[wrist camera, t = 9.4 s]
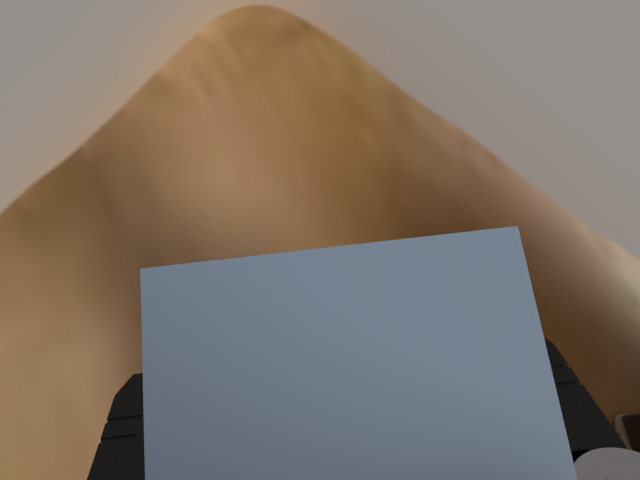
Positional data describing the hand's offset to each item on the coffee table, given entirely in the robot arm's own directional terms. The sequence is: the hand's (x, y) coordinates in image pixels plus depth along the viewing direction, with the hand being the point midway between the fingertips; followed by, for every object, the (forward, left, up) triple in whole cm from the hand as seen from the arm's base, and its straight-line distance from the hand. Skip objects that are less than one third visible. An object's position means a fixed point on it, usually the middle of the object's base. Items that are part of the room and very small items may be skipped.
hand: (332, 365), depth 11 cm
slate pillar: (0, -1, -7) cm, 7 cm away
